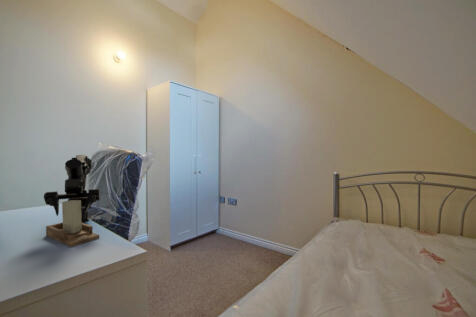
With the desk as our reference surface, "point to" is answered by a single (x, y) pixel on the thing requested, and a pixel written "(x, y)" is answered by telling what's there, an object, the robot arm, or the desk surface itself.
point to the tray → (71, 234)
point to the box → (72, 216)
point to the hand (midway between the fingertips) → (71, 213)
